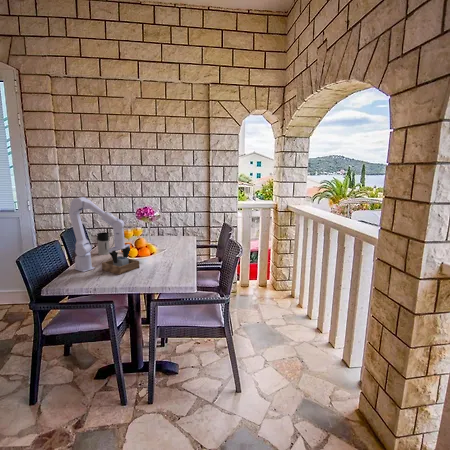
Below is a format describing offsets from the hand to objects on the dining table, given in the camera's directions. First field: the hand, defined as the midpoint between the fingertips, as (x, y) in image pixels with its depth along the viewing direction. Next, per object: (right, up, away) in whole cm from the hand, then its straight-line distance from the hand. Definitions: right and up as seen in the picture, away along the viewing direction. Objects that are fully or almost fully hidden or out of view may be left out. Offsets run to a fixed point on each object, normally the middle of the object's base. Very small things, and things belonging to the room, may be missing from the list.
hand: (120, 261), depth 180 cm
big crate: (0, -5, +1) cm, 5 cm away
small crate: (0, -4, +1) cm, 4 cm away
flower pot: (-2, -2, +21) cm, 21 cm away
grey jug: (-22, +1, +35) cm, 41 cm away
